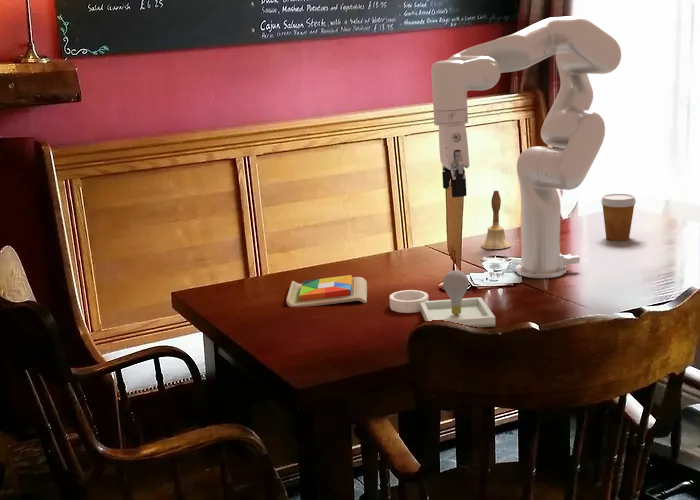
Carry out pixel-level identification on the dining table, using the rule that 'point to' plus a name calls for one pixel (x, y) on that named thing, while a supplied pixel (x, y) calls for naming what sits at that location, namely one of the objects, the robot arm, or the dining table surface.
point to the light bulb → (455, 289)
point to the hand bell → (495, 227)
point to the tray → (471, 313)
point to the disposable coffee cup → (618, 215)
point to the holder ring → (407, 300)
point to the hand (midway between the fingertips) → (454, 192)
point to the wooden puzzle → (327, 291)
